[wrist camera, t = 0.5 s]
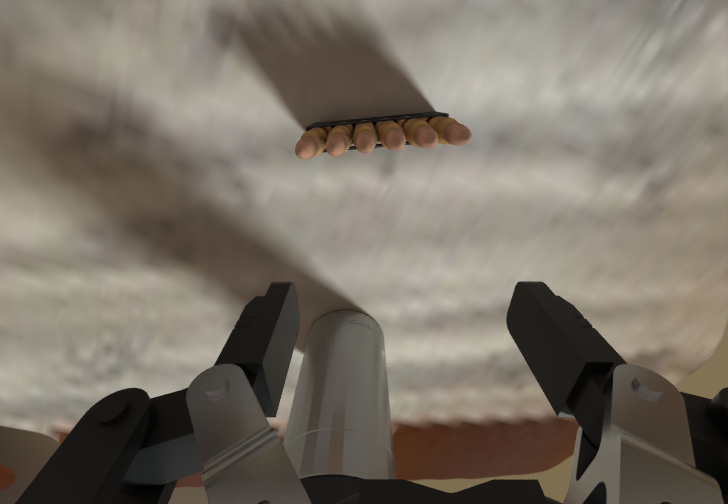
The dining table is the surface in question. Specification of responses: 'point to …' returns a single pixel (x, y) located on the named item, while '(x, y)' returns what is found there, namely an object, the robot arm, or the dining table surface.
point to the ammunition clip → (381, 134)
